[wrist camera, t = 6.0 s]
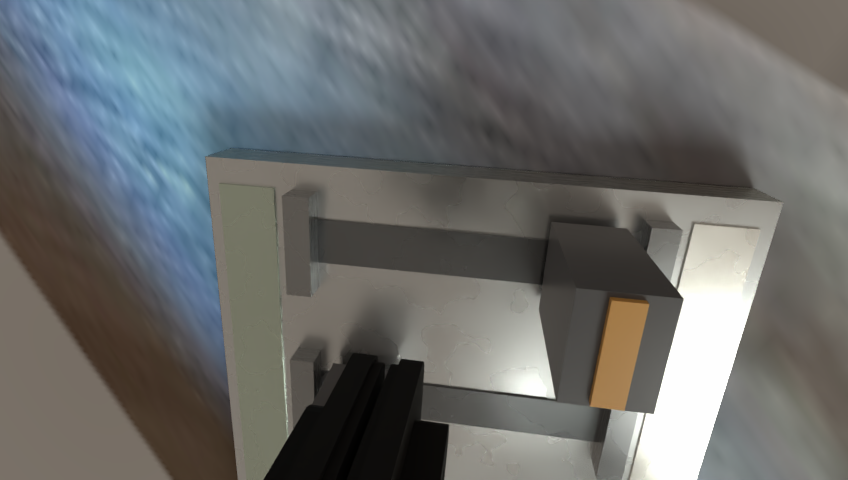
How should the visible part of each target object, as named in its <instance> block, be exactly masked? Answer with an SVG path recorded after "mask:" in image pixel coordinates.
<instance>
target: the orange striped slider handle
mask: <svg viewBox="0 0 848 480" xmlns="http://www.w3.org/2000/svg"><path fill="white" fill-rule="evenodd" d="M683 301H684V298H683V297H682V296H681V295H680V293H679V292H678V291H677V290H676V288H675V287H674V286H673V285H672V283H671V282H670V281H669V280H668V278H667V277H666V276H665V275H664V273H663V272H662V271H661V270H660V269H659V267H658V266H657V265H656V264H655V262H654V261H653V260H652V259H651V257H650V256H649V255H648V254H647V252H646V251H645V250H644V249H643V247H642V246H641V245H640V244H639V243H638V241H637V240H636V239H635V238H634V236H633V235H632V234H631V233H630V231H629V230H628V229H627V228H616V227H605V226H593V225H582V224H570V223H559V222H552V223H551V230H550V236H549V243H548V250H547V257H546V263H545V270H544V277H543V284H542V290H541V297H540V304H539V314H540V319H541V324H542V330H543V335H544V340H545V345H546V351H547V356H548V361H549V366H550V372H551V377H552V382H553V387H554V393H555V398H556V402H557V403H565V404H573V405H581V406H589V407H597V408H606V409H614V410H622V411H630V412H638V413H646V414H654V412H655V408H656V405H657V401H658V397H659V393H660V389H661V385H662V381H663V378H664V374H665V370H666V366H667V362H668V358H669V354H670V351H671V347H672V343H673V339H674V335H675V331H676V328H677V324H678V320H679V316H680V312H681V308H682V304H683Z"/></svg>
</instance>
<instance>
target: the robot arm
mask: <svg viewBox="0 0 848 480" xmlns="http://www.w3.org/2000/svg"><path fill="white" fill-rule="evenodd" d="M423 381H424V361H416V360H409V359H400V362H399V364H391V365H390V367H389V370H388V372H387V375H386V378H385V363H383V362H378V358H377V355H370V354H362V353H353V354H352V355H351V357H350V359H349V361H348V363H347V364H346V366H345V368H344V370H343V372H342V374H341V376H340V377H339V379H338V381H337V383H336V385H335V387H334V389H333V390H332V392H331V394H330V396H329V398H328V400H327V402H326V403H325V405H324V406H318V405H312V404H310V405H308V406H307V407H306V409H305V410H304V412H303V413H302V415H301V417H300V419H299V420H298V422H297V424H296V425H295V427H294V429H293V430H292V432H291V434H290V435H289V437H288V439H287V441H286V442H285V444H284V446H283V447H282V449H281V451H280V452H279V454H278V456H277V457H276V459H275V461H274V463H273V464H272V466H271V468H270V469H269V471H268V473H267V474H266V476H265V478H264V479H263V480H444V477H445V469H446V459H447V448H448V437H449V424H444V423H437V422H430V421H423V420H421V412H422V397H423Z"/></svg>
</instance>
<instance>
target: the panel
mask: <svg viewBox="0 0 848 480" xmlns="http://www.w3.org/2000/svg"><path fill="white" fill-rule="evenodd" d="M205 158H206V168H207V178H208V188H209V198H210V208H211V218H212V228H213V238H214V248H215V257H216V267H217V277H218V287H219V297H220V307H221V317H222V327H223V337H224V347H225V357H226V366H227V376H228V386H229V396H230V406H231V416H232V426H233V436H234V446H235V456H236V466H237V475H238V480H263V479H264V478H265V476H266V474H267V473H268V471H269V469H270V468H271V466H272V464H273V463H274V461H275V459H276V457H277V456H278V454H279V452H280V451H281V449H282V447H283V446H284V444H285V442H286V441H287V439H288V437H289V435H290V434H291V432H292V430H293V429H294V427H295V425H296V424H297V422H298V420H299V419H300V417H301V415H302V413H303V412H304V410H305V409H306V407H307V406H308V405H310V404H312V403H313V401H314V400H315V398H316V396H317V394H318V392H319V390H320V388H321V386H322V384H323V382H324V380H325V378H326V376H327V375H328V373H329V371H330V369H331V367H332V365H333V363H337V364H345V365H346V364H347V363H348V361H349V359H350V357H351V355H352V354H353V353H362V354H370V355H377V358H378V362H383V363H385V369H387V370H389V367H390V365H391V364H399V362H400V359H409V360H416V361H424V381H423V397H422V412H421V420H423V421H430V422H437V423H444V424H449V437H448V448H447V459H446V469H445V477H444V480H697V476H698V473H699V470H700V467H701V464H702V460H703V457H704V454H705V451H706V448H707V445H708V441H709V438H710V435H711V432H712V429H713V425H714V422H715V419H716V416H717V413H718V409H719V406H720V403H721V400H722V397H723V393H724V390H725V387H726V384H727V381H728V378H729V374H730V371H731V368H732V365H733V362H734V358H735V355H736V352H737V349H738V346H739V342H740V339H741V336H742V333H743V330H744V327H745V323H746V320H747V317H748V314H749V311H750V307H751V304H752V301H753V298H754V295H755V291H756V288H757V285H758V282H759V279H760V276H761V272H762V269H763V266H764V263H765V260H766V256H767V253H768V250H769V247H770V244H771V240H772V237H773V234H774V231H775V228H776V225H777V221H778V218H779V215H780V212H781V209H782V205H783V202H782V201H780V200H777V199H775V198H773V197H771V196H769V195H767V194H765V193H763V192H761V191H759V190H757V189H755V188H744V187H731V186H718V185H705V184H692V183H679V182H667V181H654V180H641V179H628V178H615V177H602V176H589V175H576V174H563V173H550V172H537V171H524V170H511V169H498V168H485V167H472V166H459V165H446V164H433V163H420V162H407V161H394V160H381V159H368V158H355V157H342V156H329V155H316V154H303V153H290V152H277V151H264V150H251V149H238V148H229V149H226V150H223V151H220V152H217V153H214V154H211V155H208V156H205ZM552 222H559V223H570V224H582V225H593V226H605V227H616V228H627V229H628V230H629V231H630V233H631V234H632V235H633V236H634V238H635V239H636V240H637V241H638V243H639V244H640V245H641V246H642V247H643V249H644V250H645V251H646V252H647V254H648V255H649V256H650V257H651V259H652V260H653V261H654V262H655V264H656V265H657V266H658V267H659V269H660V270H661V271H662V272H663V273H664V275H665V276H666V277H667V278H668V280H669V281H670V282H671V283H672V285H673V286H674V287H675V288H676V290H677V291H678V292H679V293H680V295H681V296H682V297H683V298H684V301H683V304H682V308H681V312H680V316H679V320H678V324H677V328H676V331H675V335H674V339H673V343H672V347H671V351H670V354H669V358H668V362H667V366H666V370H665V374H664V378H663V381H662V385H661V389H660V393H659V397H658V401H657V405H656V408H655V412H654V414H646V413H638V412H630V411H622V410H614V409H606V408H597V407H589V406H581V405H573V404H565V403H557V402H556V398H555V393H554V387H553V382H552V377H551V372H550V366H549V361H548V356H547V351H546V345H545V340H544V335H543V330H542V324H541V319H540V314H539V304H540V297H541V290H542V284H543V277H544V270H545V263H546V257H547V250H548V243H549V236H550V230H551V223H552Z"/></svg>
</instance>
